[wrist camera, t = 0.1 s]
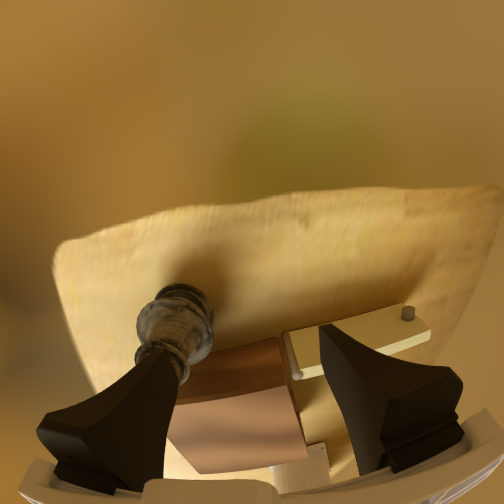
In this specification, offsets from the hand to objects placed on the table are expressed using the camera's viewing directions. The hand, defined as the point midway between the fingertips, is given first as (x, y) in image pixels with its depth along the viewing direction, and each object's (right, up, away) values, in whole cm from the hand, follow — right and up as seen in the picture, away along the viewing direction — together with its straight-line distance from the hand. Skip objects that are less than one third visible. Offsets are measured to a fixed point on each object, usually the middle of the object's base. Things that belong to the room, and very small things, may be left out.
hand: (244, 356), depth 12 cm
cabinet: (-1, -9, +13) cm, 16 cm away
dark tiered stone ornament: (-5, 0, +10) cm, 12 cm away
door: (+8, -1, +11) cm, 14 cm away
